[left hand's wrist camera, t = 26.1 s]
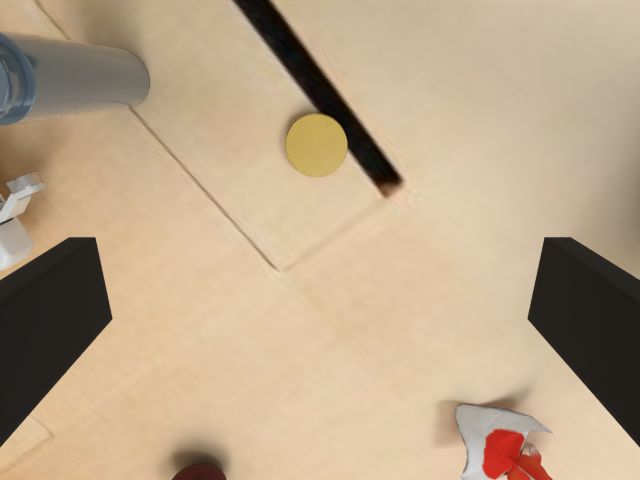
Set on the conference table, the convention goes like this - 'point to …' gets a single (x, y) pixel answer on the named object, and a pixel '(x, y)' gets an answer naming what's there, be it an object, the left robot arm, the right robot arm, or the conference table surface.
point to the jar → (65, 78)
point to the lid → (316, 145)
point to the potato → (200, 473)
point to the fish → (498, 444)
